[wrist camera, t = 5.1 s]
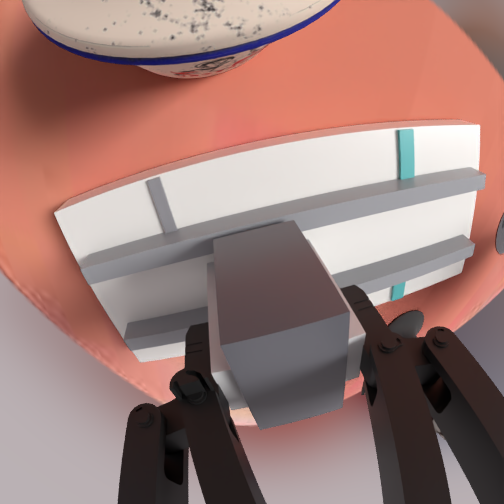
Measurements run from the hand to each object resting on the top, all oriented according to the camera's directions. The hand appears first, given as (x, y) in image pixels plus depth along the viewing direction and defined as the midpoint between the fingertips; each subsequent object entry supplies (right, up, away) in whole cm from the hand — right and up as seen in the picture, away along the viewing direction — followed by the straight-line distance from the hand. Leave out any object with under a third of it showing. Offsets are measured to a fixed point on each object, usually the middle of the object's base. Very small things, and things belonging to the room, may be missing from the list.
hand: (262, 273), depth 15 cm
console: (+3, +2, +3) cm, 4 cm away
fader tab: (0, 0, +1) cm, 1 cm away
